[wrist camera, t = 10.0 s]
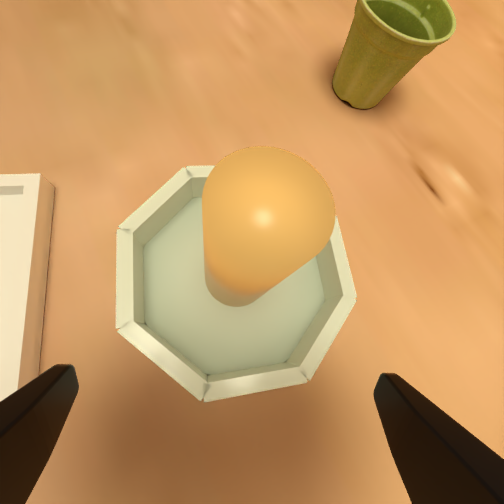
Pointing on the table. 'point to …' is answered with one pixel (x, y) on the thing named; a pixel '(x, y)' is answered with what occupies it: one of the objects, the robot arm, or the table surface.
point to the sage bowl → (214, 312)
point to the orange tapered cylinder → (261, 221)
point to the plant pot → (388, 46)
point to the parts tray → (23, 275)
